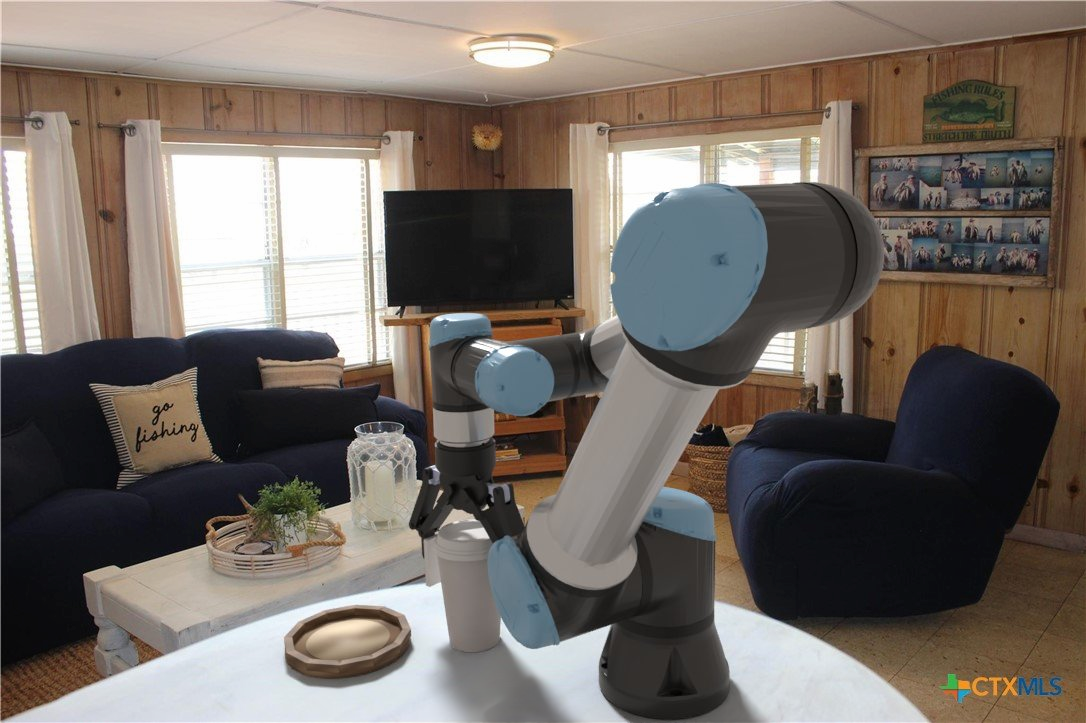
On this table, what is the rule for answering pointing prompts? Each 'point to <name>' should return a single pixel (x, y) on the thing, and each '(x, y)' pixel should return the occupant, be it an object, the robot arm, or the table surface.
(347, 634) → the polygonal wooden dish
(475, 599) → the coffee cup
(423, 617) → the table surface
